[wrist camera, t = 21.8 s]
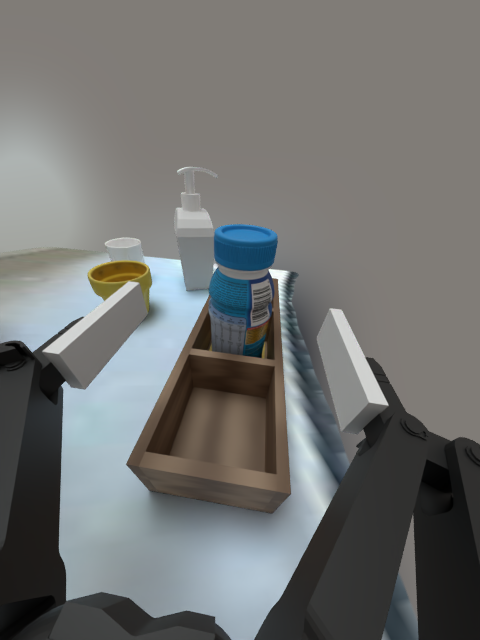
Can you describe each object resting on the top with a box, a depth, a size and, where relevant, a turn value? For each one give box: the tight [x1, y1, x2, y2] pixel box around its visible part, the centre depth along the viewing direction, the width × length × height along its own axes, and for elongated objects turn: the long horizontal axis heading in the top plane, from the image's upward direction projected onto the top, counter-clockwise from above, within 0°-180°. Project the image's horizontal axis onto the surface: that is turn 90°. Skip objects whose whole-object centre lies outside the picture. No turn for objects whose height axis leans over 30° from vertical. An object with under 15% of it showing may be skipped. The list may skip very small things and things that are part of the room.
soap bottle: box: [174, 167, 218, 291], centre depth 48 cm, size 12×10×26 cm
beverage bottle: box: [209, 224, 278, 358], centre depth 26 cm, size 8×8×20 cm
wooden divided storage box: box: [126, 278, 291, 513], centre depth 31 cm, size 13×36×8 cm, turn 173°
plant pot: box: [88, 260, 152, 312], centre depth 40 cm, size 10×10×10 cm
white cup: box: [105, 238, 145, 264], centre depth 51 cm, size 8×8×10 cm
